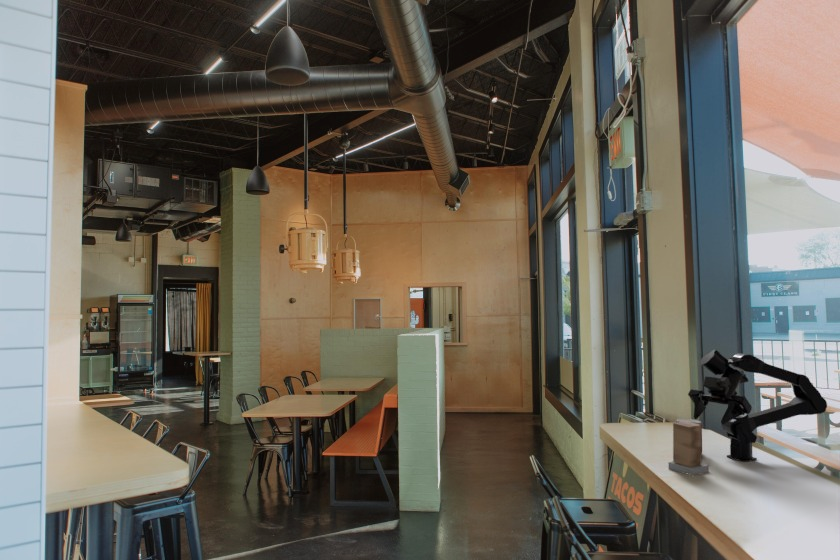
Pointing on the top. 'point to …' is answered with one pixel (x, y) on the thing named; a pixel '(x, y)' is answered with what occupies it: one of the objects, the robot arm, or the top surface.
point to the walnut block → (687, 443)
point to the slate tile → (689, 468)
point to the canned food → (692, 422)
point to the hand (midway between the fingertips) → (708, 420)
